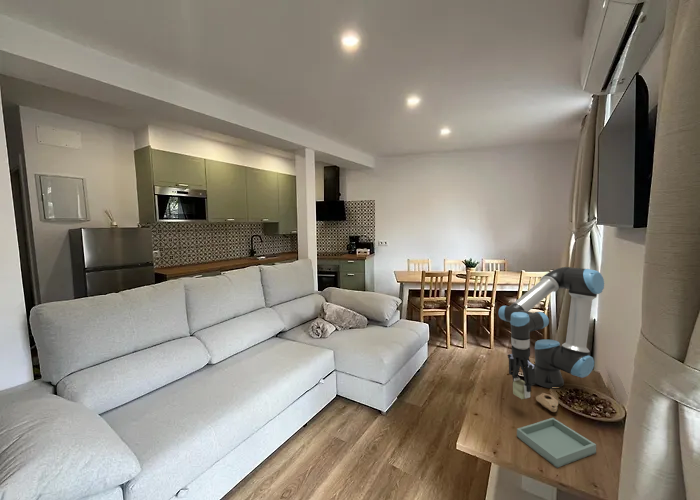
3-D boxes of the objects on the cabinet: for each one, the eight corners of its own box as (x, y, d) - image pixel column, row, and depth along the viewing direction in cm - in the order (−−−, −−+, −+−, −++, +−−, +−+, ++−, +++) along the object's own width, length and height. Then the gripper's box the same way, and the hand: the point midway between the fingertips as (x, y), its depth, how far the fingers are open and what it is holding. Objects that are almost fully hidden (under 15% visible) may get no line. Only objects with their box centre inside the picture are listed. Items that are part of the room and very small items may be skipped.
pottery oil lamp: (545, 415, 143) (537, 399, 145) (540, 409, 153) (533, 394, 156) (565, 410, 140) (557, 394, 143) (558, 405, 151) (551, 390, 154)
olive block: (521, 391, 147) (521, 379, 147) (530, 396, 143) (530, 384, 142) (513, 393, 146) (512, 381, 145) (521, 399, 141) (521, 386, 141)
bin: (552, 425, 136) (552, 417, 136) (596, 453, 119) (596, 444, 119) (516, 436, 130) (516, 428, 130) (556, 467, 113) (556, 458, 113)
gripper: (499, 341, 150) (500, 386, 152) (531, 355, 133) (532, 406, 135) (511, 338, 152) (513, 383, 154) (544, 352, 135) (545, 402, 137)
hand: (522, 394), depth 144 cm, fingers closed on olive block, 5 cm apart
